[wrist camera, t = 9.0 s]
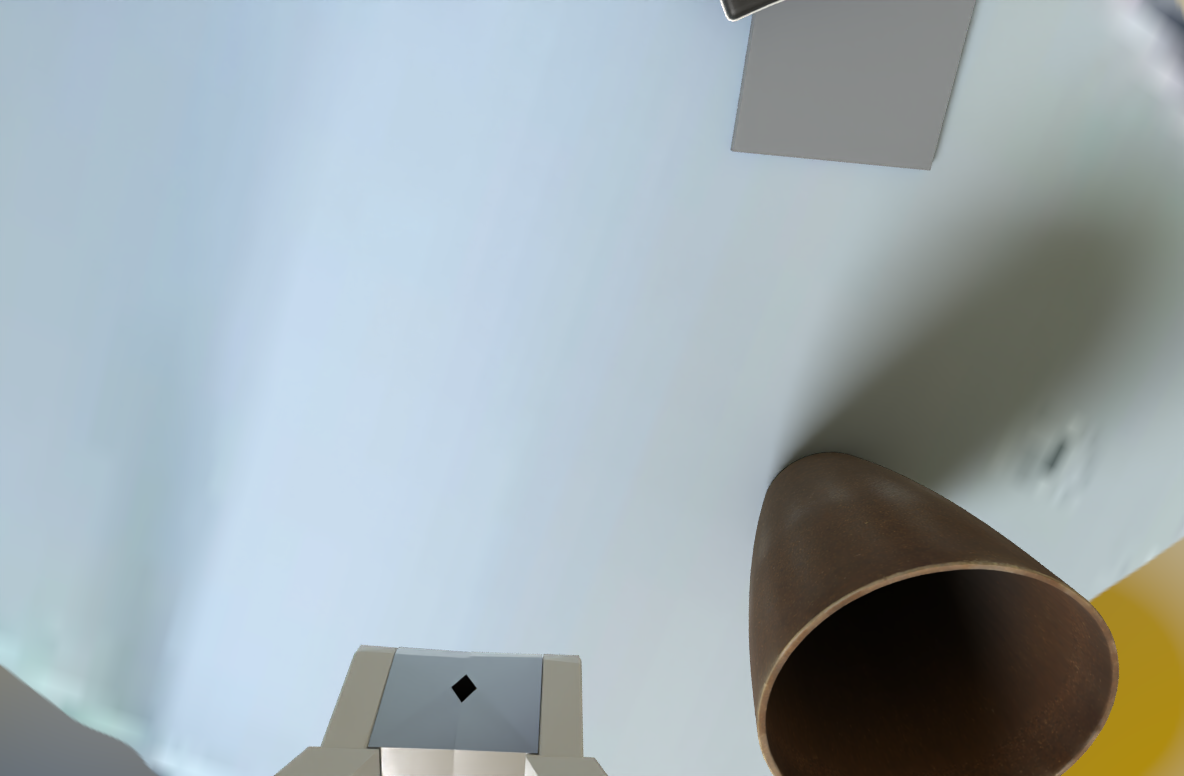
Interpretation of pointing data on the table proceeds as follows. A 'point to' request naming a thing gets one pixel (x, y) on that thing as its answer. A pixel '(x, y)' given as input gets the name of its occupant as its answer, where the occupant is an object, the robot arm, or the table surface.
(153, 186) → the table surface
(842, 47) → the mat
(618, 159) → the table surface
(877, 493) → the plant pot
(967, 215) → the table surface
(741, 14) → the battery charger
